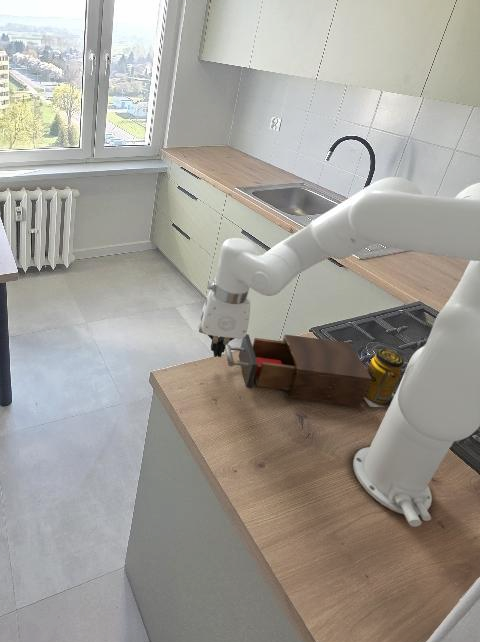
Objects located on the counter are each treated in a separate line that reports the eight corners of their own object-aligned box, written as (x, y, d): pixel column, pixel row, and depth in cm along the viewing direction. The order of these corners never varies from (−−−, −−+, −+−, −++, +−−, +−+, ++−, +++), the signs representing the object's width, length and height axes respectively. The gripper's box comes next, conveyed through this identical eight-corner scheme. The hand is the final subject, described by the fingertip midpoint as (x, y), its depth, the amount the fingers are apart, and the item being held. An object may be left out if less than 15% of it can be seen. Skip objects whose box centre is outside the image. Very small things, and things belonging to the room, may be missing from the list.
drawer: (226, 385, 99) (231, 361, 96) (220, 353, 108) (224, 331, 105) (310, 396, 97) (318, 373, 94) (296, 363, 106) (303, 341, 103)
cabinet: (289, 398, 97) (299, 369, 93) (276, 362, 108) (284, 334, 104) (359, 408, 96) (372, 378, 92) (339, 370, 106) (349, 342, 102)
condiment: (351, 382, 103) (367, 344, 98) (385, 383, 103) (402, 346, 98) (369, 407, 96) (386, 368, 91) (405, 408, 96) (424, 369, 91)
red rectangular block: (278, 368, 103) (280, 360, 102) (282, 378, 100) (284, 369, 99) (249, 364, 104) (251, 356, 103) (252, 374, 101) (254, 366, 100)
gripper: (198, 296, 92) (186, 360, 99) (268, 305, 90) (251, 368, 98) (195, 277, 98) (184, 338, 106) (260, 285, 97) (244, 346, 105)
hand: (216, 352), depth 102 cm, fingers closed
